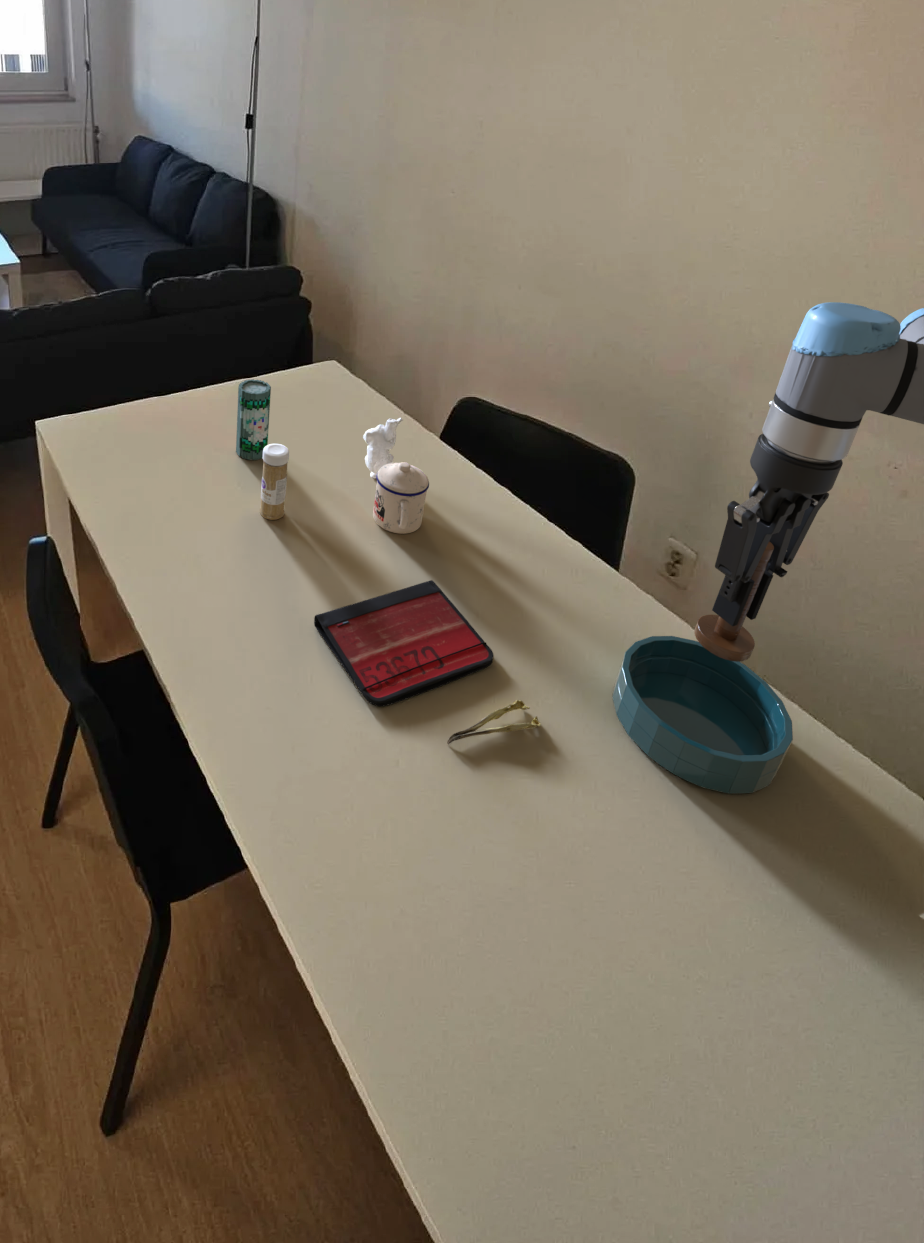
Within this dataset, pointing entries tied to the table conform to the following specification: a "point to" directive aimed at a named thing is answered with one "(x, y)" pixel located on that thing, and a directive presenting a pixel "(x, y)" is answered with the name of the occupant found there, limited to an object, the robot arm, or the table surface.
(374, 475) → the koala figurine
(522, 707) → the jaw bone
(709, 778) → the bowl
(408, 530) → the teacup with lid
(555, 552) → the table surface
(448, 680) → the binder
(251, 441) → the can
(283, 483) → the sprinkles bottle
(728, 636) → the plunger
